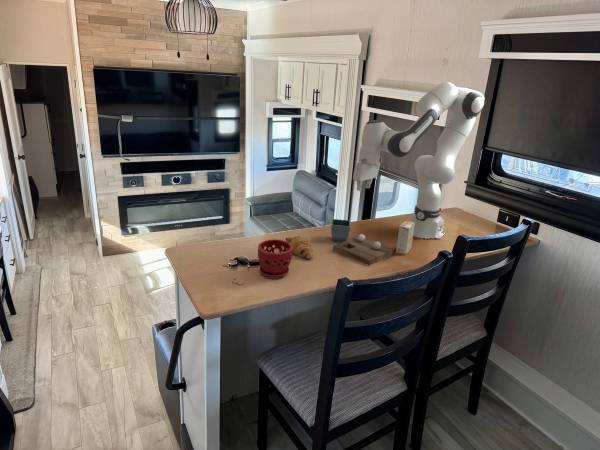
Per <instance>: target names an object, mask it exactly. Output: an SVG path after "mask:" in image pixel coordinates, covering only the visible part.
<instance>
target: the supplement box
mask: <svg viewBox="0 0 600 450" xmlns="http://www.w3.org/2000/svg"><path fill="white" fill-rule="evenodd" d="M414 226H415V223H413V222H410V221H408V220H404V221H403V222H402V223H401V224H400V225H399V228H398V236H397V242H396V243H397V244H396V251H395V253H396V254H401V255H405V256H406V255H407V254H409V252H410V251H411V249H412V245H413V238H414V236H413V232H414Z"/></svg>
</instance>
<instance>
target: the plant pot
mask: <svg viewBox="0 0 600 450" xmlns="http://www.w3.org/2000/svg"><path fill="white" fill-rule="evenodd" d="M273 246H274V247H273ZM275 250H278V251H279V252H275ZM292 258H293V254H292V245H291V244H290V243H288V242H286V240H282V239H277V238H276V239H275V238H274V239H267V240H263V241H261V242H260V243H258V245H257V259H258V263H259V265H260V266H259V270H258V271H259V272H260V274H261V275H262V276H264V277H265V278H269V279H282V278H284V277H286V276H288V274H289V273H290V267H289V266H290V265H291V262H292Z"/></svg>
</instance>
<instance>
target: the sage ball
mask: <svg viewBox="0 0 600 450" xmlns="http://www.w3.org/2000/svg"><path fill="white" fill-rule="evenodd" d="M374 242H375V243H374V244H373V247H374V248H375V249H380V248H381V245H382V244H381V242H379V241H374Z"/></svg>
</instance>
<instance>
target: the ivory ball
mask: <svg viewBox="0 0 600 450" xmlns="http://www.w3.org/2000/svg"><path fill="white" fill-rule="evenodd" d="M357 236H358V240H359V241H364V240H365V239H366V235H364V234H363V233H362V234H359V235H357Z"/></svg>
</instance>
